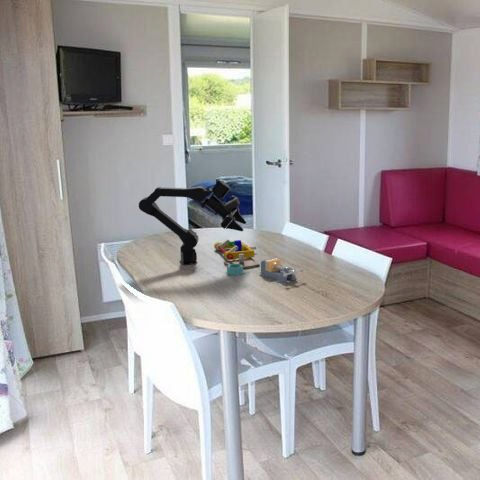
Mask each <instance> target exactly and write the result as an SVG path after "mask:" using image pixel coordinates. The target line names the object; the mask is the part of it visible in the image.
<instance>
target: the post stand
mask: <svg viewBox="0 0 480 480" xmlns="http://www.w3.org/2000/svg"><path fill="white" fill-rule="evenodd" d="M229 264H241V265H243V270H246V269H247V270H248V269H251V268H253V269H254V268H258V267H261V263H258V262H257V261H254V260H252V259H250V258H244V254H239V258H238V259H232V260H227V261H223V265H224V266H226V267H227V266H228V265H229Z"/></svg>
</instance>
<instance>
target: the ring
mask: <svg viewBox="0 0 480 480" xmlns="http://www.w3.org/2000/svg"><path fill="white" fill-rule="evenodd" d="M243 273H244V269H243V265H241V264H229V265H228V266H227V265H226V274H228V275H229V276H240V275H242V274H243Z"/></svg>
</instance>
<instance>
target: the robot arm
mask: <svg viewBox="0 0 480 480" xmlns="http://www.w3.org/2000/svg"><path fill="white" fill-rule="evenodd" d="M231 189H232V188H231V187H230V185H228V184H227V183H226V182H224V181H222V180H220V179H217V181H216V183H215V184H214V186H213V187H211V188H210V187H207V188H206V187H205V186H202V185H200V186H199V185H198V186H192V187H186V188H183V187H162V186H157V187H156V188H155V189H154V191H152V192H151V193H150V195H148V196H145V197H143V198H142V199H141V200H140V201H139V202H138V208H139V210H140V211H141V212H143V213H145V214H146V215H149V216H151V217H154V218H155V219H156V220H157V221H159V222H160V223H161V224H162V225H164V226H165V227H167V228H168V229H169V230H171V231H172V232H173V233H174V234H176V235H177V236H178V238H179V240H180V241H181V243H182V244H181V246H180V248H179V249H180V251H179V252H180V260H179V263H181V264H182V265H184V266H185V265H187V266H189V265H192V264H197V263H198V261H197V259H198V258H197V256H198V255H197V252H196V249H195V248H196V246H197V245H198V243H199V235H197V232H196V231H194V230H193V228H190V227H189V228H188V229H186V228H184V227H183V226H181V225H180V224H179V223H178V222H177V221H175V220H174V219H173V218H172V217H171V216H169V215H168V214H167V213H165V212H164V211H163V210H161V209H160V207H159V206H158V204H157V203H156V201H157V200H158V199H159V198H160V197H170V198H171V197H172V198H188V199H189V200H190V199H191V200H196V201H201V202H200V206H201V209H204V208H205V206H206V207H207V208H209V209H210V210H211V211H213V212H214V215H215V216H217V215H218V216H219V217H220V218H221V220H222V221H221V222H220V227H221V228H223V229H224V230H226V229H228V230H233V231H239V232H243V231H244V228H243V227H242V226H241V225H240V224H242V225H246V224H247V221H246V220H245V218H244V217H243V216H242V215H241V213H240V207H239V206H240V204H241V201H240V200H239V197H237V196H235V195H232V196H230V199H229V201H227V202H226V201H222V200H221V199H224V198H225V197H226V195H227V194H228V193H229V192H230V190H231ZM239 223H240V224H239Z"/></svg>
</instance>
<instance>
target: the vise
mask: <svg viewBox="0 0 480 480" xmlns="http://www.w3.org/2000/svg"><path fill="white" fill-rule="evenodd" d="M303 272H304V268H302V267H301V268H299V270H298V269H297V270H296V269H294V268H291V267H289V266H283V263H282V262H281V260H280V259H279V258H276V257H272V258H269V259H268V258H267V259H263V260H261V262H260V273H259V277H264V278H265V277H268V278H270V279H273V280H275V281H276V282H277V283H279V284H281V283H282V284H283V283H287V281H288V279H289V280H291V281H295V280H297V276H296V274H297V273H303Z"/></svg>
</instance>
